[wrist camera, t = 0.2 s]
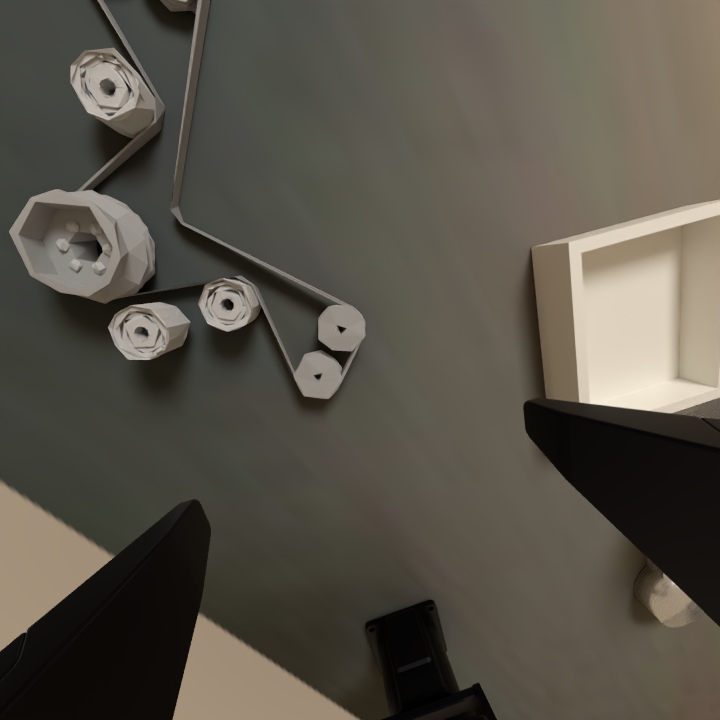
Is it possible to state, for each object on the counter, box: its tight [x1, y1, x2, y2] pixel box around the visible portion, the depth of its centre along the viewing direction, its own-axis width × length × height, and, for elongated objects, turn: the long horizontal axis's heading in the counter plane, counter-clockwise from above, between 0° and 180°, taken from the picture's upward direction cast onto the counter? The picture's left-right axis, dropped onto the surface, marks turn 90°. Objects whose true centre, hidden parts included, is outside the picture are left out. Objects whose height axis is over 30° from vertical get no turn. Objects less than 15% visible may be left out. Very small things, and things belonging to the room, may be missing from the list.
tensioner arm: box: [634, 412, 711, 627], centre depth 31 cm, size 21×7×2 cm, turn 14°
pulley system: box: [9, 0, 365, 399], centre depth 18 cm, size 27×5×15 cm
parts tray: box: [531, 200, 720, 413], centre depth 24 cm, size 14×12×4 cm
